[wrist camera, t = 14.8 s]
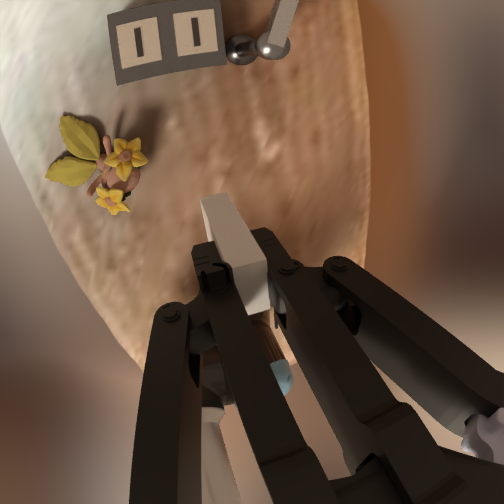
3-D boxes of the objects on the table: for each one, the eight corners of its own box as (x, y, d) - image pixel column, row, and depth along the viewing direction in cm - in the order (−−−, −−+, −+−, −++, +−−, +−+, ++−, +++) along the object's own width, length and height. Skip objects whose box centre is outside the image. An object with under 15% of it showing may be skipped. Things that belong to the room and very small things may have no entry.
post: (258, 63, 40) (287, 64, 32) (226, 66, 39) (247, 66, 31) (255, 34, 37) (284, 27, 29) (223, 36, 36) (243, 28, 28)
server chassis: (216, 64, 39) (227, 64, 33) (122, 83, 36) (116, 85, 30) (209, 5, 33) (220, -6, 27) (113, 22, 30) (106, 14, 24)
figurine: (62, 108, 34) (114, 142, 31) (108, 113, 43) (165, 146, 39) (43, 183, 39) (88, 233, 36) (87, 179, 48) (136, 223, 44)
